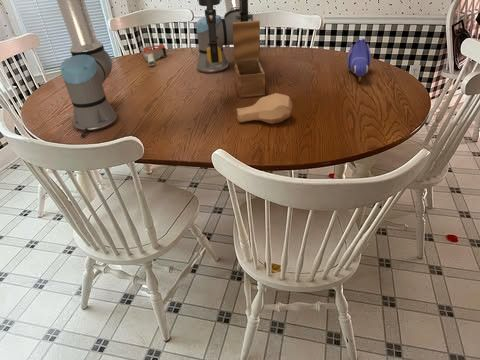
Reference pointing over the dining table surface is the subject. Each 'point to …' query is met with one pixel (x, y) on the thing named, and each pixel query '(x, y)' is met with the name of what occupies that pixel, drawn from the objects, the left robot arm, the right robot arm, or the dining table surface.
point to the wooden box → (249, 78)
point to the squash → (267, 109)
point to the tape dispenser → (153, 53)
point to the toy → (359, 58)
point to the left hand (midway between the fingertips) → (214, 59)
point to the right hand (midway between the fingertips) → (244, 29)
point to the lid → (246, 39)
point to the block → (210, 54)
